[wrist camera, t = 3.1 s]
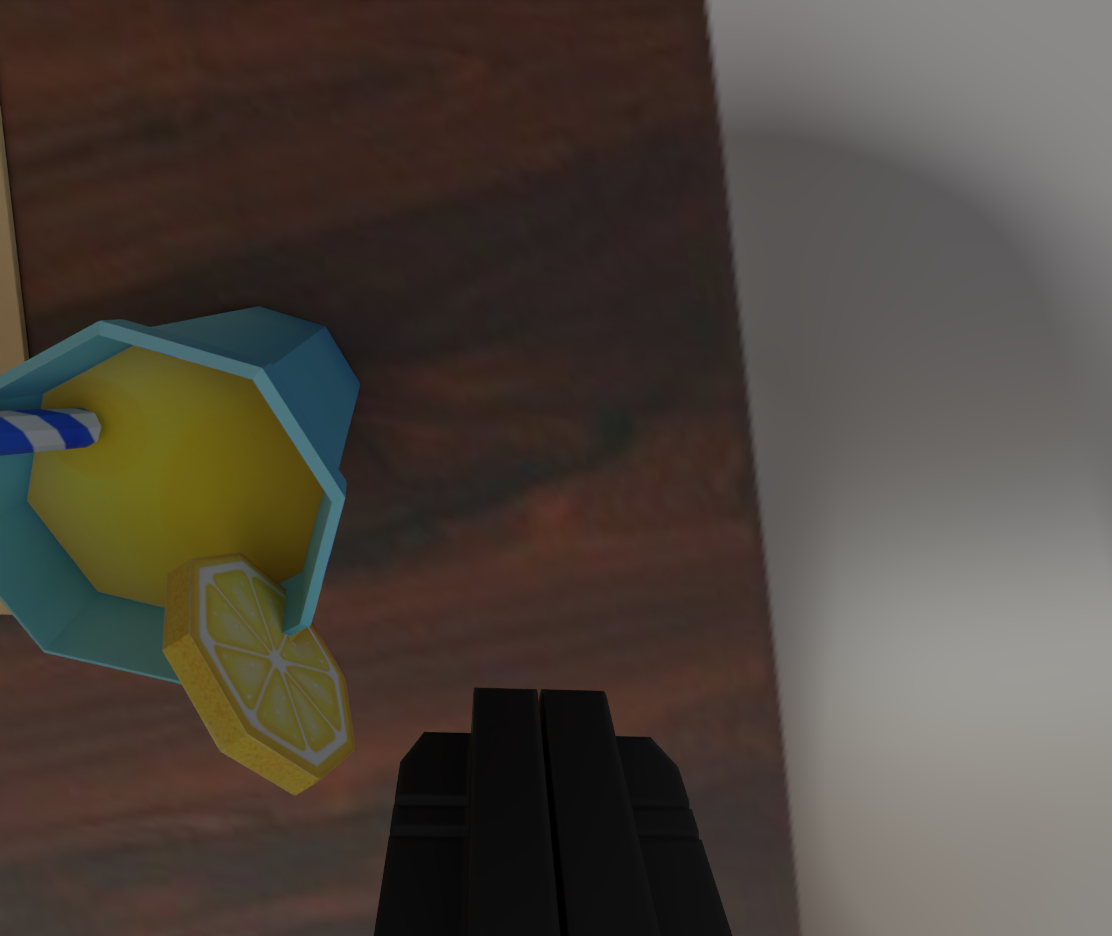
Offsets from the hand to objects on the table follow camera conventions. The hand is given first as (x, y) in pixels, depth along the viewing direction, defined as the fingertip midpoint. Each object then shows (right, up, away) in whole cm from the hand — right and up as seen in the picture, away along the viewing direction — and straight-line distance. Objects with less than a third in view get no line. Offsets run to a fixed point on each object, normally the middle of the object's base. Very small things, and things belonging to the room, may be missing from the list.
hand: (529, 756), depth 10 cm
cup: (-9, +6, +17) cm, 20 cm away
